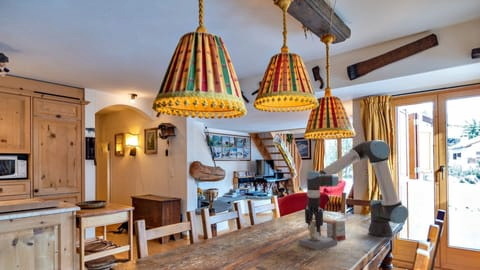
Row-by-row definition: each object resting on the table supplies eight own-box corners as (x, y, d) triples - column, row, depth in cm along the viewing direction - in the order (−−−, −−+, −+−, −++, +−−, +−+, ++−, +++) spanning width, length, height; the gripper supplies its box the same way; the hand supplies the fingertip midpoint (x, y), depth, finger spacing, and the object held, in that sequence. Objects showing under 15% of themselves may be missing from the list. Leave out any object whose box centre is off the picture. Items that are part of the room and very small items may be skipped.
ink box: (346, 239, 195) (345, 220, 196) (335, 240, 192) (334, 221, 193) (337, 236, 203) (336, 218, 204) (326, 237, 200) (326, 219, 201)
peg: (309, 245, 182) (309, 221, 183) (314, 244, 184) (313, 220, 185) (314, 247, 178) (314, 222, 179) (319, 245, 181) (318, 221, 182)
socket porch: (318, 239, 194) (318, 217, 195) (337, 244, 182) (336, 220, 184) (298, 244, 183) (298, 220, 185) (317, 250, 172) (316, 224, 173)
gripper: (298, 195, 188) (299, 234, 186) (320, 198, 174) (321, 240, 172) (307, 195, 193) (307, 233, 191) (329, 197, 179) (329, 238, 177)
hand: (314, 236), depth 182 cm, fingers closed on peg, 4 cm apart
